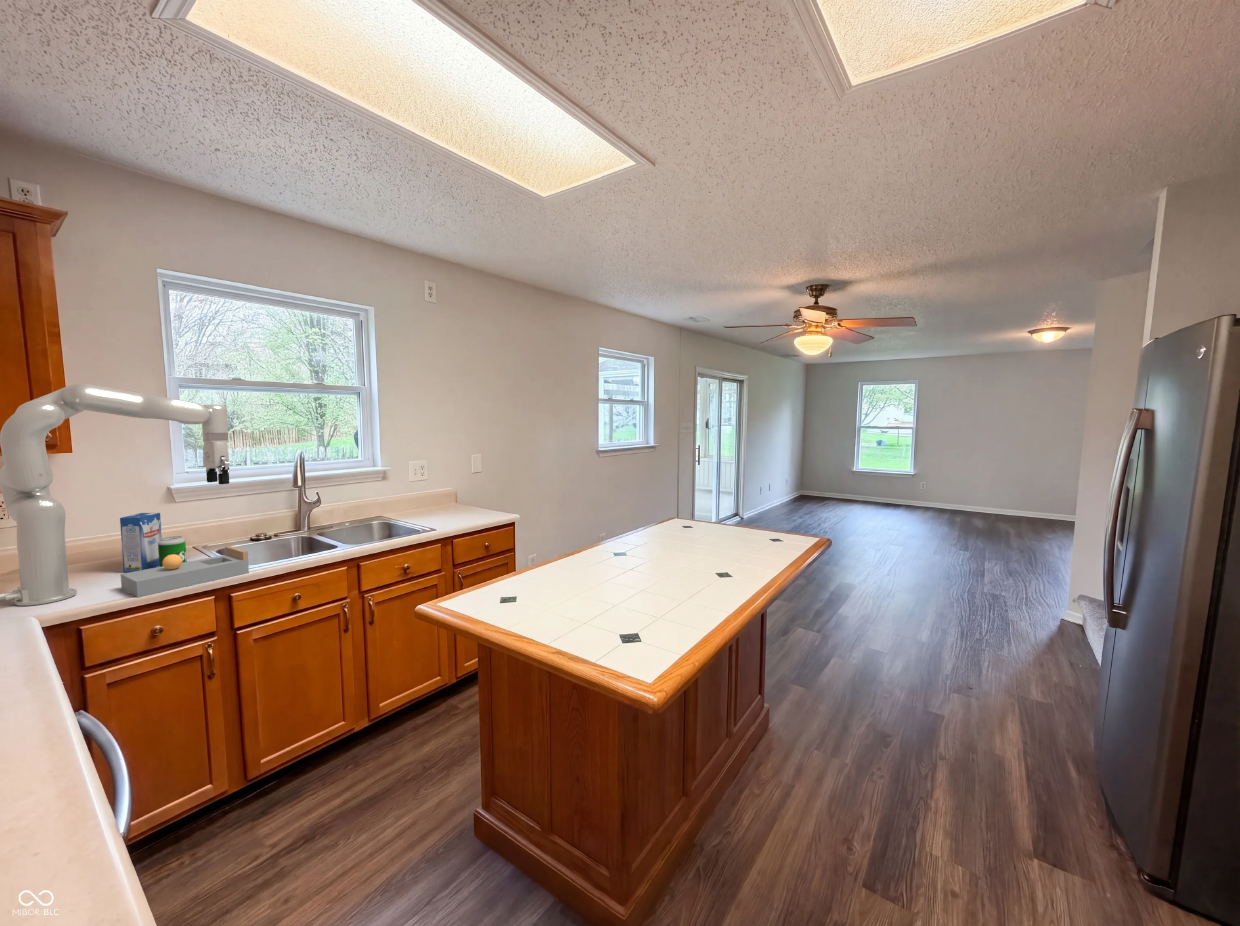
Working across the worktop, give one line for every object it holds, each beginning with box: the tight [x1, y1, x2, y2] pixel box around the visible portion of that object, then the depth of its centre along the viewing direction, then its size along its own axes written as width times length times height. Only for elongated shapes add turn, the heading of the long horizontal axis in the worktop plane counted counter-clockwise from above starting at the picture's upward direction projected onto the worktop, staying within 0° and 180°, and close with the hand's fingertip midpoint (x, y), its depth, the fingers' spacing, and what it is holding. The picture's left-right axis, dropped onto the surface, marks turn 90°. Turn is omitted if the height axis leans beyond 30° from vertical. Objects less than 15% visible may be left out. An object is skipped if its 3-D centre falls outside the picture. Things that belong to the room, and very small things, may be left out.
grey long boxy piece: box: [120, 545, 250, 598], centre depth 170 cm, size 30×14×8 cm, turn 149°
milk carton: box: [119, 512, 163, 574], centre depth 182 cm, size 10×6×20 cm, turn 10°
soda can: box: [158, 535, 188, 567], centre depth 182 cm, size 8×8×12 cm
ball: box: [162, 554, 182, 570], centre depth 167 cm, size 5×5×5 cm
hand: (218, 483), depth 188 cm, fingers open, 9 cm apart
